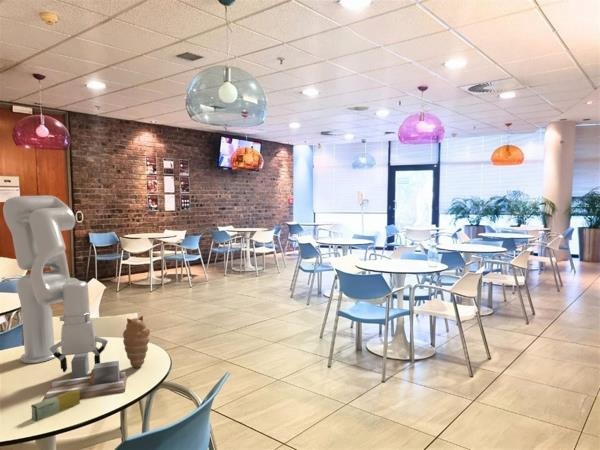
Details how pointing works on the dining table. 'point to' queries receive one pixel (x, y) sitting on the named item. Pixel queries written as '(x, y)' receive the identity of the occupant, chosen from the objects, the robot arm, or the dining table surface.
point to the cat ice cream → (136, 341)
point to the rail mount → (93, 382)
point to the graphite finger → (80, 365)
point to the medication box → (55, 404)
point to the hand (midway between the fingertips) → (81, 368)
